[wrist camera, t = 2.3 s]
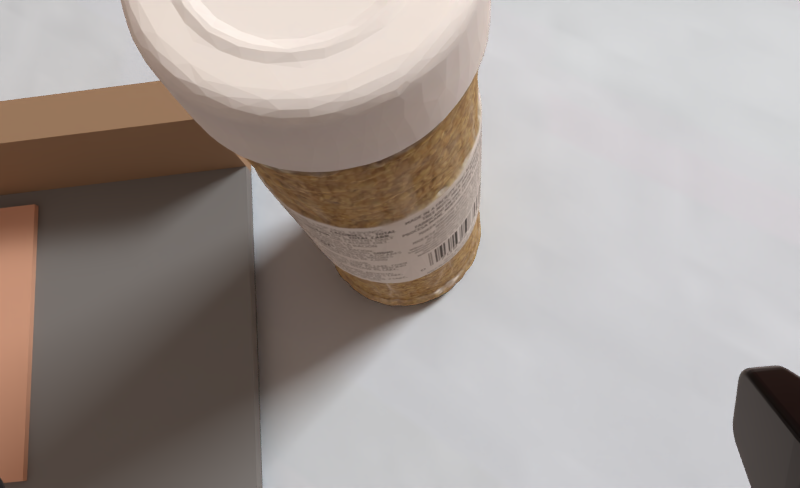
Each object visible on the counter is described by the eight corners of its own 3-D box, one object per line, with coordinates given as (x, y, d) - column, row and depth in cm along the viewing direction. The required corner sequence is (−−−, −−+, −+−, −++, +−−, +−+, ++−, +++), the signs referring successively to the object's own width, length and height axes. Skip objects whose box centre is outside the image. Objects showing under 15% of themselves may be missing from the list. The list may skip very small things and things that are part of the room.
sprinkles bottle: (407, 131, 22) (311, -289, 9) (515, 235, 21) (579, -78, 8) (295, 233, 22) (30, -58, 9) (400, 344, 21) (272, 200, 8)
